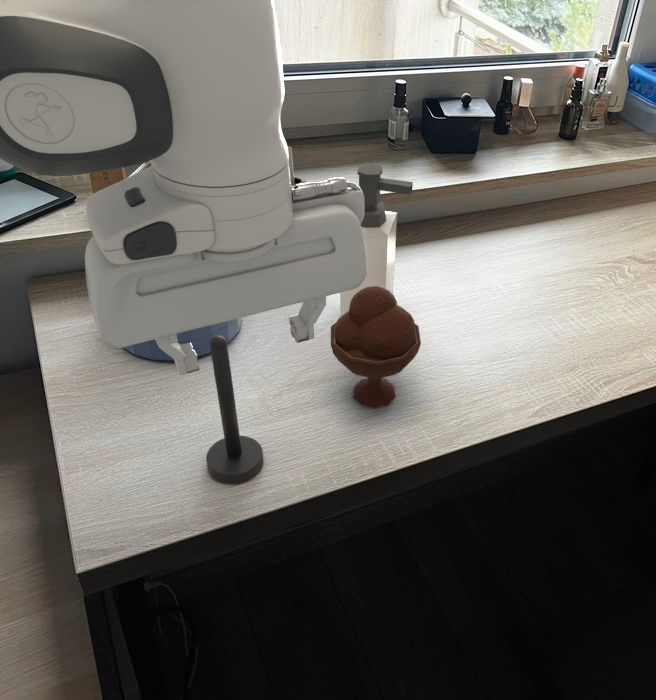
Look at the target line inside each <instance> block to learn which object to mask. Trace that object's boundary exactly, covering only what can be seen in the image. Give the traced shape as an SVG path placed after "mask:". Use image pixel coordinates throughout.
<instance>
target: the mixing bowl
mask: <svg viewBox="0 0 656 700" xmlns="http://www.w3.org/2000/svg"><path fill="white" fill-rule="evenodd" d="M242 321H243V317H241V318H237V319H233V320H229V321H225V322H221V323H217V324H213V325H209V326H205V327H201V328H197V329H193V330H189V331H185V332H181V333H177V339H178V343H179V344H180V345H182V344H186V343H190V342H191V344H192V346H193V350H195V352H196V354H197V358H199V357H201V356H204V355H207V354H211V349H210V340H211V339H212V338H213V337H214V336H222V337H224V338H225V339H226V341H227V344H228V343H229V342H230V341H232V339H234V337H235V336H236V335H237V334H238V333H239V331H240V328H241V325H242ZM122 348H123V349H125V350H126V351H128V352H129V353H131V354H133V355H135V356H137V357H141V358H146V359H150V360H154V361H171V362H172V361H174V359H173V358H172V357H170V356H169V355H168V354H167V353H165V352H164V351H163V350H161V349H160V348H159V347H158V344H157V342H156V340H155V339H153V340H149V341H145V342H141V343H137V344H134V345H130V346H126V347H122ZM174 362H175V361H174Z"/></svg>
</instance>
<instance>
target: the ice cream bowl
mask: <svg viewBox="0 0 656 700" xmlns="http://www.w3.org/2000/svg"><path fill="white" fill-rule="evenodd" d="M397 302H398V301H397V299H396V296H395V295H394V293H393V294H392V293H391V292H390V291H389V290H386V289H384V288H382V287H379V286H370V287H366V288H363V289H362V290H360V291H359V292H357V293H356V294H355V295H354V296H353V298H352V299H351V302H350V307H349V311H348V312H346V313H345V314H344V315H343V316H340V317H339V318H338V319H337V321H335V323H333V324H332V325H331V326H330V347H331V351H332V354H333V356H334V357H335V359H336V360H337V361H338V362H339V363H340V364H341V365H343V366H344V367H345V368H346V369H347V370H349V371H350V373H352V374H354V375H356V376H358V377H363V378H361V379H360V380H359V381H358V382H357V383H356V384H355V385H354V386H353V388H352V396H353V397H352V398H353V399H354V401H356V402H357V403H358V404H359V405H360V406H362V407H366V408H372V409H377V408H378V409H379V408H381V407H386V406H389V404H391V402H393V400H394V399H396V389H395V385H394V384H393V383H392V382H390V381H389V380H388V379H387V378H388V377H390V376H391V377H392V376H396V375H397V374H400V373H401V372H402V371H403V370H404V369H405V368H406V367H407V366H408V365H409V364H410V363H411V362H412V361H413V360H414V359H415V358H416V357H417V355H418V354H419V350H420V348H421V346H422V345H421V344H422V342H421V341H422V340H421V334H420V329H419V325H417V324H416V323H415V319H414V317H413V316H412V314H411V313H410V312H408V311H407V310H406V309H404V308H403V307H402V306H400V305H399V304H398V303H397Z"/></svg>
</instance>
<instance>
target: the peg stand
mask: <svg viewBox="0 0 656 700" xmlns="http://www.w3.org/2000/svg"><path fill="white" fill-rule="evenodd" d="M210 349H211V352H210V355H211V362H212V367H213V374H214V381H215V387H216V392H217V400H218V406H219V413H220V419H221V426H222V433H223V438H221V439H219V440H217V441H216V442H214V444H212V445H211V446H210V448H209V449H208V451H207V453H206V458H205V461H206V466H207V472H208V474H209V475H210V476H211V478H213V479H214V480H215V481H217V482H219V483H222V484H226V485H237V484H242V483H245V482H248V481H250V480H252V479H253V478H255V477H256V476H257V475H258V474H259V473H260V472H261V470H262V469H263V467H264V452H263V447H262V445H261V444H260V443H259V442H258V441H257V440H256V439H254V438H252V437H250V436H246V435H241V434H240V429H239V421H238V420H239V419H238V413H237V406H236V399H235V391H234V384H233V377H232V369H231V362H230V355H229V347H228V343H227V341H226V339H225V338H224V337H222V336H214V337H213V338H212V339H211V340H210Z"/></svg>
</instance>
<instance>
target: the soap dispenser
mask: <svg viewBox="0 0 656 700" xmlns="http://www.w3.org/2000/svg"><path fill="white" fill-rule="evenodd" d="M382 174H383V165H380V164H377V163H373V162H371V163H370V162H363V163H362V164H360V165H358V166H357V176H358V186H359V187H360V188H361V190H362V192H363V195H364V218H363V221H362V223H361V224H360V225H361V228H362V232H363V237H364V242H365V249H366V257H367V270H368V273H367V277H366V278H365V280H364V281H363V283H362V284H361V286H360V287H359V288H356V289H353V290H349V291H345V292H341V293H339V301H340V302H339V303H340V307H339V309H340V311H339V312H340V317H341V316H343V315H344V314H345V313H346V312H348V311H349V307H350V302H351V299H352V298H353V296H354V295H355V294H356V293H357V292H359V291H360V290H362V289H363V288H366V287H370V286H379V287H382V288H384V289H386V290H389V291H390V292H391V293H392V294H393V295H394V288H395V268H396V267H395V266H396V265H395V264H396V243H397V242H396V241H397V220H398V212H395V211H394V212H393V211H388V210H387V211H386V208H385V207H386V205H385V202H382V201H381V191H382V192H388V193H395V194H401V195H407V196H408V195H409V196H411V195H412V192H413V186H414V184H413V183H414V182H413V181H408V180H400V179H391V178H384V177H381V176H382Z"/></svg>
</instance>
